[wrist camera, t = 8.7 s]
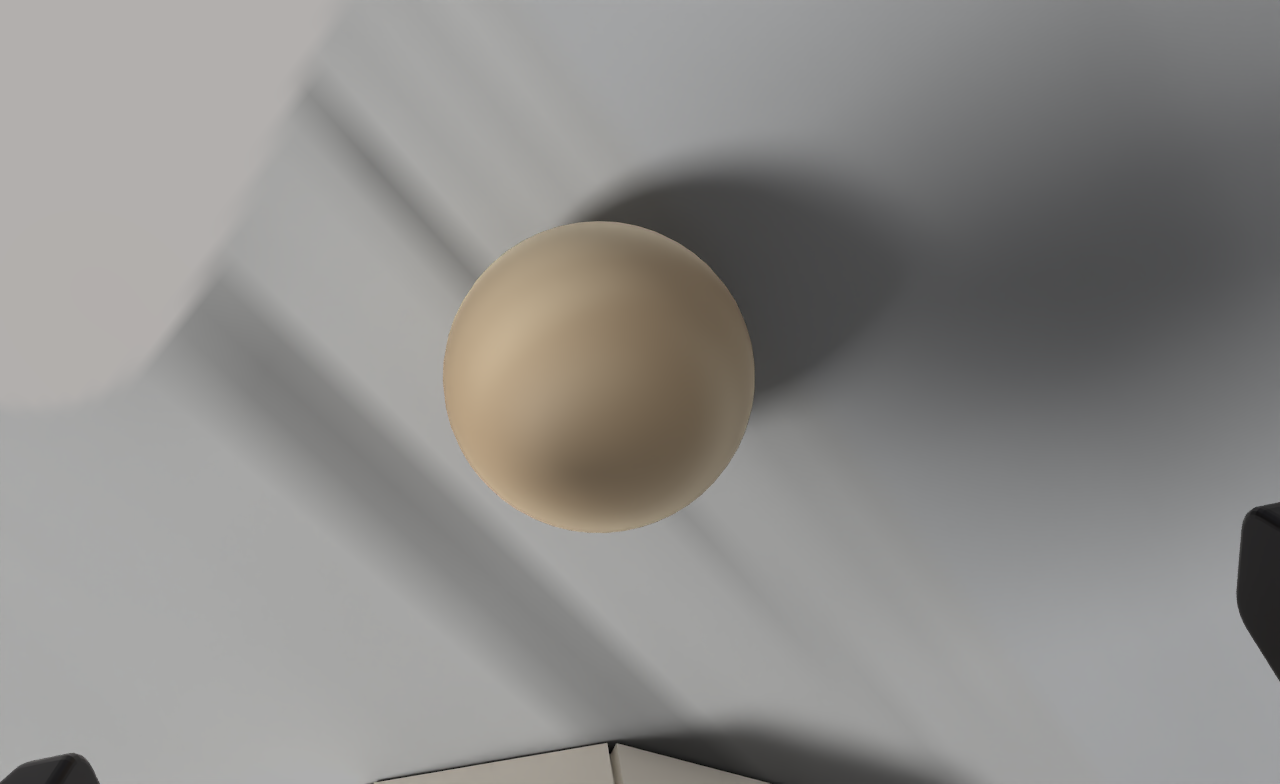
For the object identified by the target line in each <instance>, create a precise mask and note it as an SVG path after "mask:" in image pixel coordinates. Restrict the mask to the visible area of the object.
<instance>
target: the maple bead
mask: <svg viewBox="0 0 1280 784" xmlns="http://www.w3.org/2000/svg"><path fill="white" fill-rule="evenodd" d="M443 385H444V394H445V403H446V409H447V413H448V417H449V421H450V425H451V428H452V430H453V432H454V435H455V437H456V439H457V442H458V444H459V446H460V448H461V450H462V452H463V454H464V455H465V457H466V459H467V460H468V462H469V464H470V465H471V467H472V468H473V469H474V471H475V472H476V473H477V474H478V475H479V477H480V478H481V479H482V480H483V481H484V483H485V484H486V485H487V486H488V487H489V488H490V489H492V490H493V491H494V492H495V493H496V494H497V495H498V496H499V497H500V498H501V499H503V500H504V501H505V502H507V503H508V504H510V505H511V506H512V507H514V508H515V509H517V510H519V511H521V512H523V513H524V514H526V515H528V516H530V517H532V518H534V519H536V520H539V521H541V522H544V523H547V524H549V525H552V526H555V527H559V528H563V529H567V530H571V531H579V532H587V533H609V532H619V531H626V530H630V529H635V528H640V527H643V526H646V525H649V524H652V523H655V522H658V521H660V520H662V519H664V518H666V517H668V516H671V515H673V514H674V513H676V512H678V511H679V510H681V509H683V508H684V507H686V506H688V505H689V504H690V503H692V502H693V501H694V500H695V499H697V498H698V497H699V496H701V495H702V494H703V493H704V492H705V491H706V490H707V489H708V488H709V487H710V486H711V485H712V484H713V483H714V482H715V481H716V479H717V478H718V477H719V476H720V474H721V473H722V472H723V470H724V469H725V468H726V467H727V465H728V464H729V462H730V461H731V459H732V457H733V456H734V454H735V452H736V451H737V449H738V447H739V445H740V442H741V440H742V438H743V436H744V433H745V430H746V427H747V424H748V420H749V417H750V413H751V409H752V404H753V397H754V391H755V367H754V357H753V350H752V344H751V340H750V337H749V333H748V330H747V327H746V324H745V321H744V319H743V317H742V314H741V312H740V310H739V308H738V305H737V303H736V301H735V300H734V298H733V297H732V295H731V294H730V292H729V290H728V289H727V287H726V286H725V285H724V283H723V282H722V281H721V280H720V279H719V277H718V276H717V275H716V274H715V273H714V272H713V271H712V269H711V268H710V267H709V266H708V265H707V264H706V263H705V262H703V261H702V260H701V259H700V258H699V257H698V256H697V255H696V254H694V253H693V252H691V251H690V250H688V249H687V248H685V247H684V246H682V245H681V244H679V243H678V242H676V241H674V240H672V239H670V238H668V237H666V236H664V235H662V234H659V233H657V232H655V231H652V230H649V229H646V228H643V227H640V226H636V225H631V224H625V223H620V222H606V221H592V222H578V223H573V224H568V225H563V226H558V227H555V228H552V229H550V230H547V231H544V232H541V233H538V234H536V235H534V236H532V237H530V238H528V239H526V240H524V241H522V242H520V243H519V244H517V245H516V246H514V247H513V248H511V249H509V250H508V251H506V252H505V253H504V254H503V255H501V256H500V257H499V258H498V259H497V260H496V261H494V262H493V263H492V264H491V265H490V266H489V267H488V268H487V269H486V270H485V271H484V273H483V274H482V275H481V276H480V277H479V278H478V279H477V281H476V282H475V284H474V285H473V287H472V288H471V290H470V291H469V292H468V294H467V295H466V297H465V298H464V300H463V302H462V304H461V306H460V308H459V310H458V312H457V314H456V316H455V318H454V321H453V324H452V327H451V330H450V333H449V336H448V341H447V346H446V352H445V358H444V367H443Z"/></svg>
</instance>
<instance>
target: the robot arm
mask: <svg viewBox="0 0 1280 784" xmlns="http://www.w3.org/2000/svg"><path fill="white" fill-rule="evenodd" d="M1236 592H1237V604H1238V609H1239V613H1240V616H1241V618H1242V620H1243V623H1244V625H1245V626H1246V628H1247V630H1248V632H1249V633H1250V635H1251V636H1252V638H1253V640H1254V641H1255V643H1256V644H1257V646H1258V648H1259V649H1260V651H1261V652H1262V654H1263V656H1264V657H1265V659H1266V660H1267V662H1268V664H1269V665H1270V667H1271V668H1272V670H1273V671H1274V673H1275V675H1276V676H1277V678H1278V679H1279V681H1280V502H1278V503H1273V504H1269V505H1264V506H1259V507H1255V508H1253V509H1252V510H1251V511H1249V512H1248V513H1247V514H1246V516H1245V518H1244V520H1243V524H1242V530H1241V542H1240V554H1239V567H1238V579H1237V591H1236ZM0 784H100V783H99V781H98V779H97V777H96V775H95V772H94V770H93V768H92V767H91V765H90V763H89V762H88V761H87V760H86V759H85V758H84V757H83V756H81V755H79V754H75V753H68V754H63V755H58V756H54V757H49V758H44V759H39V760H34V761H30V762H27V763H24V764H22V765H20V766H19V767H17V768H16V769H15V770H14V771H12V772H11V773H10V774H9V775H8V776H7V777H6V778H5V779H3V780H2V781H1V782H0Z"/></svg>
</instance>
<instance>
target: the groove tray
mask: <svg viewBox="0 0 1280 784" xmlns="http://www.w3.org/2000/svg"><path fill="white" fill-rule="evenodd" d="M374 784H771V783H767V782H763V781H759V780H755V779H752V778H748V777H744V776H740V775H736V774H732V773H729V772H725V771H721V770H717V769H713V768H709V767H706V766H702V765H698V764H694V763H690V762H687V761H683V760H679V759H675V758H671V757H667V756H664V755H660V754H656V753H652V752H648V751H645V750H641V749H637V748H633V747H629V746H625V745H622V744H618V743H616V745H615V747H614V749H613V751H612V753H611V754H609V750H608V744H607V743H604V744H598V745H592V746H586V747H580V748H574V749H568V750H562V751H557V752H551V753H545V754H539V755H533V756H527V757H521V758H516V759H510V760H504V761H498V762H492V763H486V764H480V765H475V766H469V767H463V768H457V769H451V770H445V771H439V772H433V773H428V774H422V775H416V776H410V777H404V778H398V779H392V780H387V781H381V782H375V783H374Z"/></svg>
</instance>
